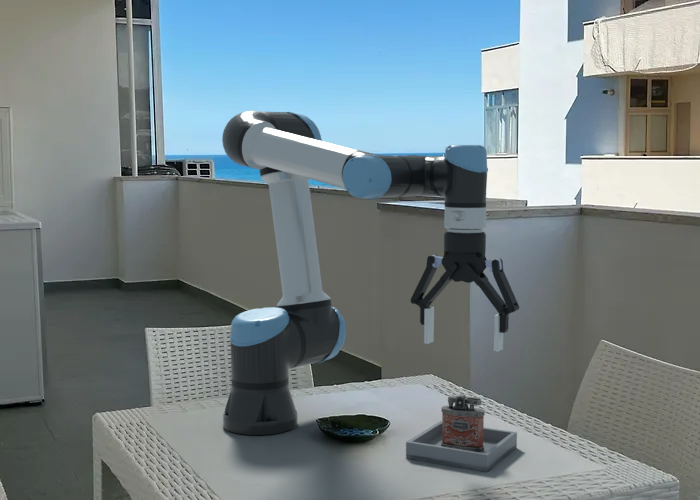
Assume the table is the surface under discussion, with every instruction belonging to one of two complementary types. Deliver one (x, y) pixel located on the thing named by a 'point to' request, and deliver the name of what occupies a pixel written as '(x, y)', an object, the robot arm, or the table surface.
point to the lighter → (463, 424)
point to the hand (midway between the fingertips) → (462, 346)
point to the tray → (431, 450)
